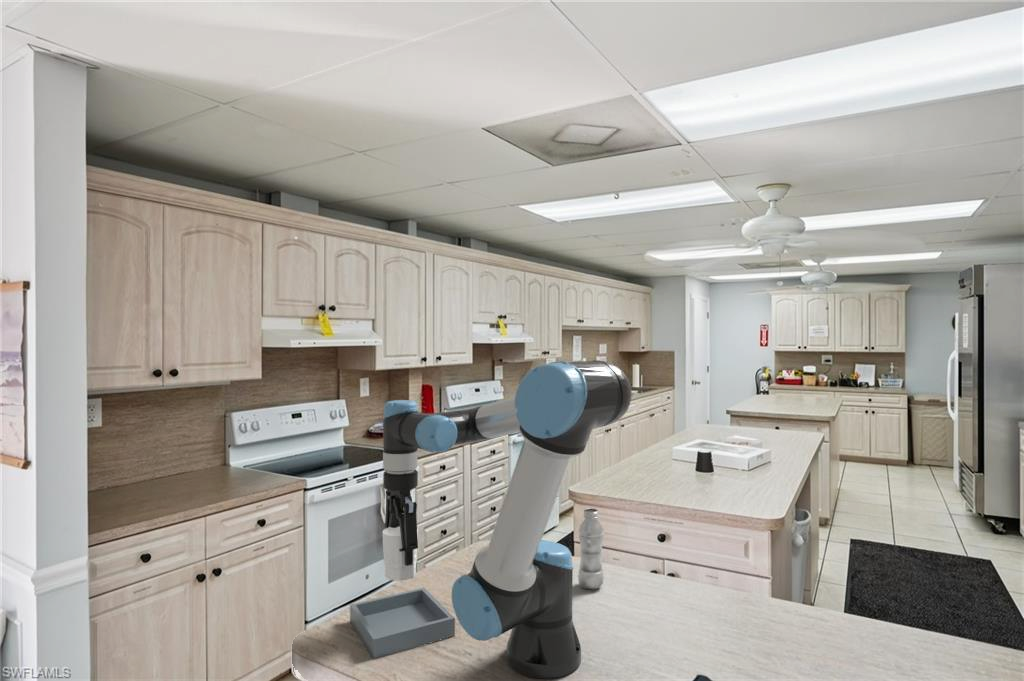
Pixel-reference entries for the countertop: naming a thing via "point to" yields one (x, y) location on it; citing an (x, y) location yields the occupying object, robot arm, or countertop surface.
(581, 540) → the plastic bottle
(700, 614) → the countertop surface
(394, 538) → the white cup
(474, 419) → the robot arm
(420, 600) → the bin
